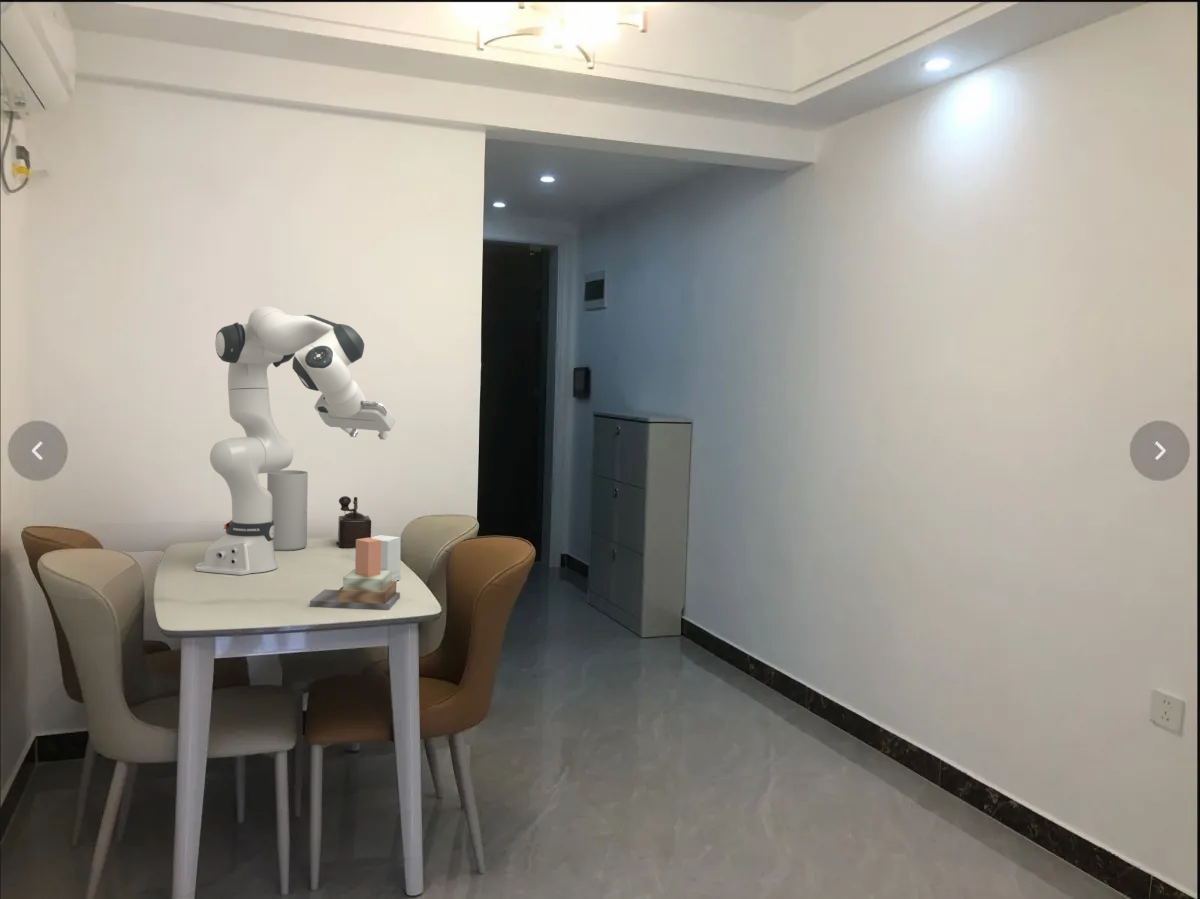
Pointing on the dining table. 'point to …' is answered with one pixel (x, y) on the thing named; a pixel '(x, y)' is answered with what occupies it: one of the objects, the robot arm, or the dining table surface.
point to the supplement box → (390, 554)
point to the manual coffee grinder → (352, 525)
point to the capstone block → (368, 557)
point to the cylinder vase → (289, 508)
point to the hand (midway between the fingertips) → (369, 436)
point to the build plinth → (333, 598)
